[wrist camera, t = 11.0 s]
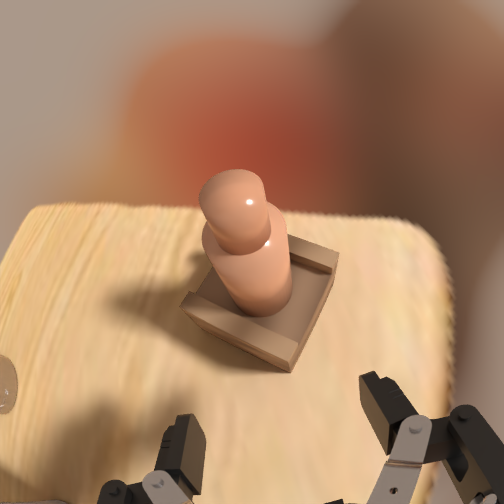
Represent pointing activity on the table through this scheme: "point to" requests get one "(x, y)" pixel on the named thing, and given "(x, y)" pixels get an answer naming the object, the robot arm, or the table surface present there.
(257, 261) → the peg doll
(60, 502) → the pillar candle
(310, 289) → the pedestal
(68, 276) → the table surface
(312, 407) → the table surface
